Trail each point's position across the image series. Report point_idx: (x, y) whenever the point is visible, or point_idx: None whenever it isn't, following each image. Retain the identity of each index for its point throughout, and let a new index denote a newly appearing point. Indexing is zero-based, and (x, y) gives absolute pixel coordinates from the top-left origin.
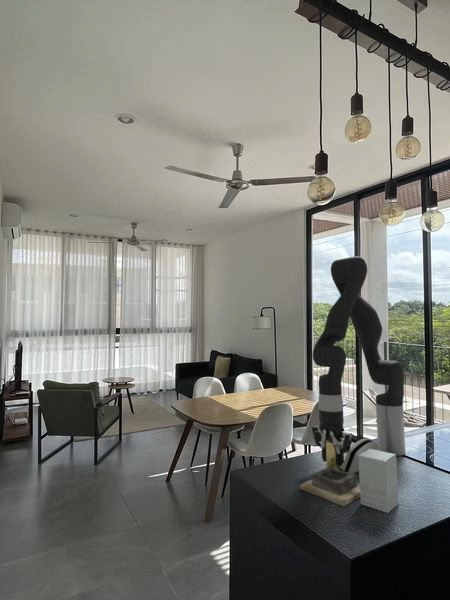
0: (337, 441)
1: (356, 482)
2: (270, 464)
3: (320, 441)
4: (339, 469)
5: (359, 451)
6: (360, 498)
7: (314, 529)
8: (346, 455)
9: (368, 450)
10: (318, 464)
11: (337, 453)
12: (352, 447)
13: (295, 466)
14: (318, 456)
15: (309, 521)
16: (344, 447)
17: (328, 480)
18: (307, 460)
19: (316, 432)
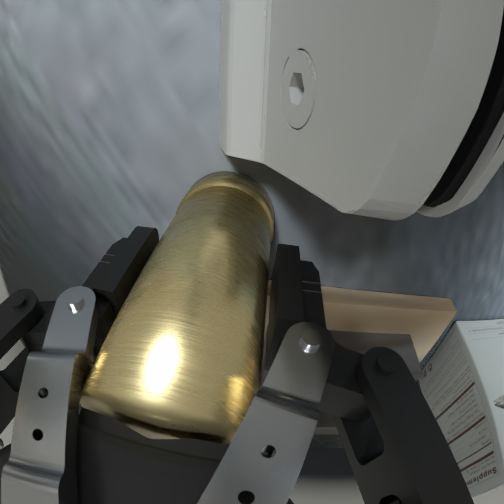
0: (227, 434)
1: (413, 348)
2: (12, 285)
3: (26, 341)
4: (269, 222)
5: (489, 175)
6: (421, 390)
7: (337, 446)
8: (311, 191)
9: (491, 490)
10: (77, 142)
11: (272, 361)
12: (418, 172)
13: (48, 250)
14: (16, 40)
15: (321, 442)
16: (365, 445)
17: (323, 434)
18: (17, 141)
19: (1, 440)
